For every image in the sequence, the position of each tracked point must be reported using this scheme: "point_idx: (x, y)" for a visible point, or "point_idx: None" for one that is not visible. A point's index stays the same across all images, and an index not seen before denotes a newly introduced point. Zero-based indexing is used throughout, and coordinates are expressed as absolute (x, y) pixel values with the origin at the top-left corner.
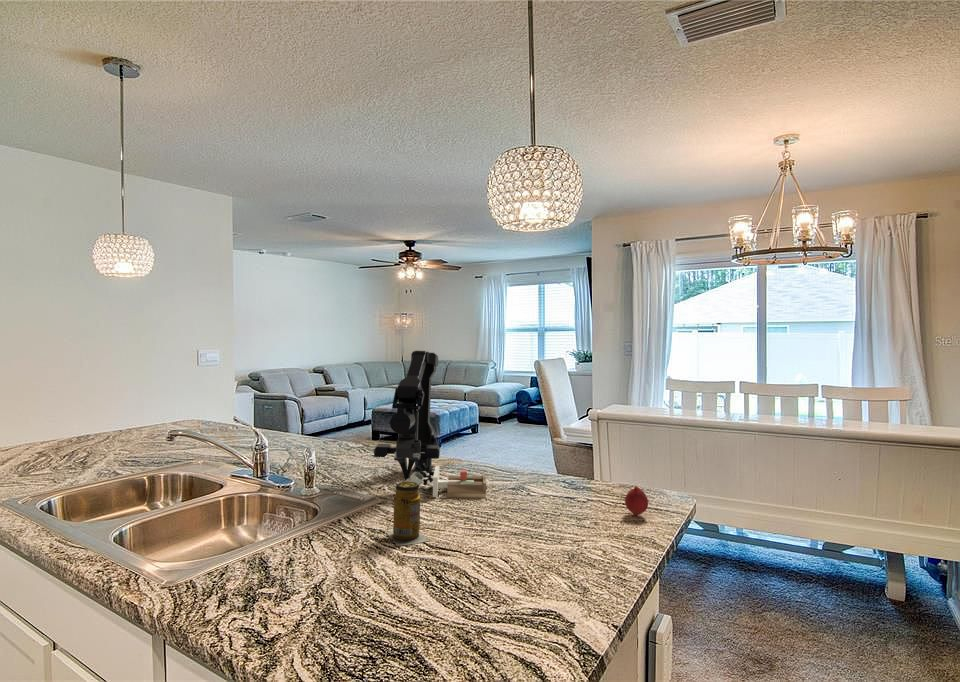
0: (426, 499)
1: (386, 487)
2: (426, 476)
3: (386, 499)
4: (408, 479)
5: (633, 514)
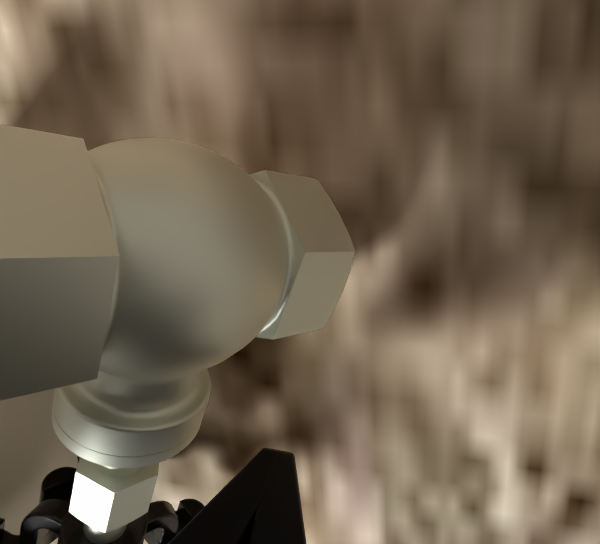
0: (76, 129)
1: (505, 508)
2: (55, 510)
3: (535, 138)
4: (174, 248)
5: None
